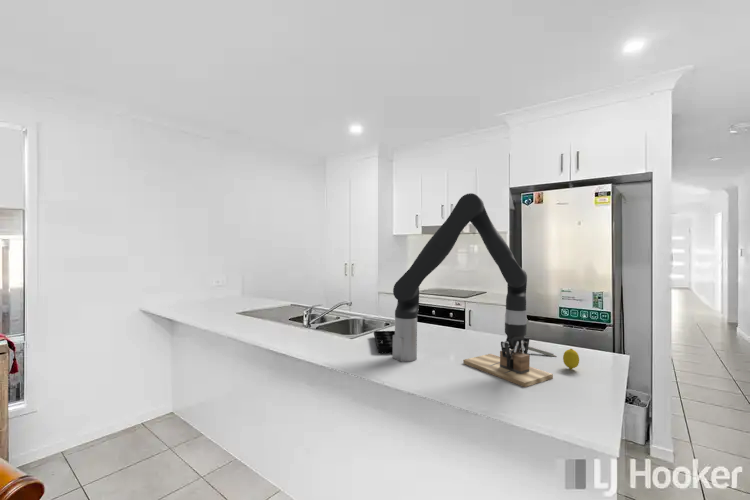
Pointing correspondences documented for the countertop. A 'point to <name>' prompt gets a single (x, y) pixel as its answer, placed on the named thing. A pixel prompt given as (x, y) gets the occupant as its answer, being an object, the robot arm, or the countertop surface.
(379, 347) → the egg carton
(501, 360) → the block
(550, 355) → the caliper
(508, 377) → the plywood board
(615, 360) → the countertop surface
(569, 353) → the lemon
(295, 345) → the countertop surface
